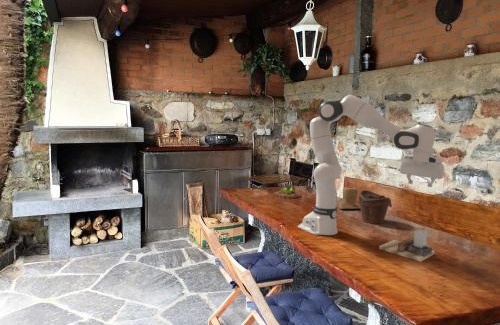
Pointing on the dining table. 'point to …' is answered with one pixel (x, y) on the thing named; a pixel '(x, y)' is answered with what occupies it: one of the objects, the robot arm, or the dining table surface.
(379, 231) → the dining table surface
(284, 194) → the plant
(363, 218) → the brown tapered bucket
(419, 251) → the beige board with divider
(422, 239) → the grey square block
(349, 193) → the tan boot
